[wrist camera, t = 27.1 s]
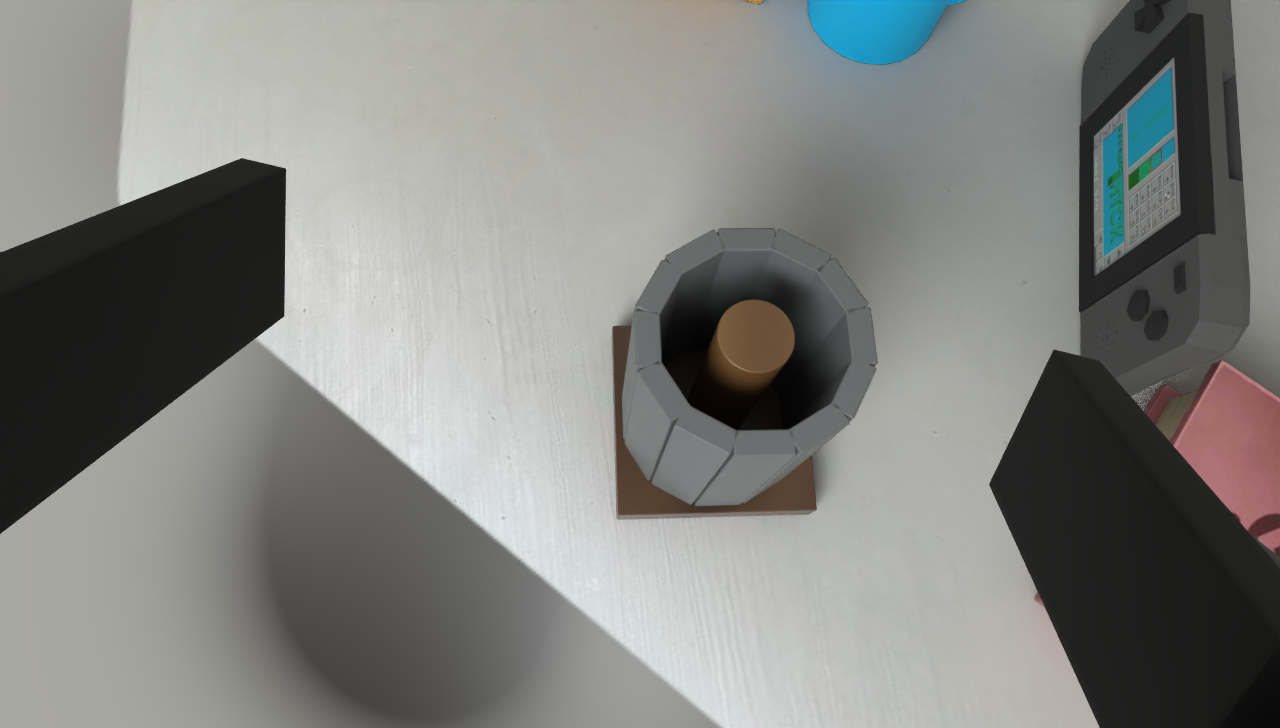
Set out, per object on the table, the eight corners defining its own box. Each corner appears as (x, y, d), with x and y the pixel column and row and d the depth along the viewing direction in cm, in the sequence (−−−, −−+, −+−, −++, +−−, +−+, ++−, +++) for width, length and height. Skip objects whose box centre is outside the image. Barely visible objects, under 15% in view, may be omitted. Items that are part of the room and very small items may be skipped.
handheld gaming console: (1073, 57, 54) (1177, -69, 44) (1115, 64, 54) (1228, -59, 44) (1072, 396, 46) (1196, 334, 37) (1121, 405, 46) (1258, 345, 37)
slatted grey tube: (589, 451, 42) (590, 381, 31) (673, 303, 45) (701, 189, 34) (753, 539, 41) (816, 501, 30) (827, 382, 44) (911, 294, 33)
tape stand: (616, 519, 43) (628, 468, 30) (611, 335, 46) (620, 217, 33) (809, 514, 43) (902, 462, 31) (792, 332, 46) (869, 216, 34)
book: (1026, 613, 42) (1081, 610, 38) (1157, 388, 47) (1222, 360, 42) (1281, 804, 40) (1374, 826, 36) (1395, 549, 45) (1491, 539, 40)
